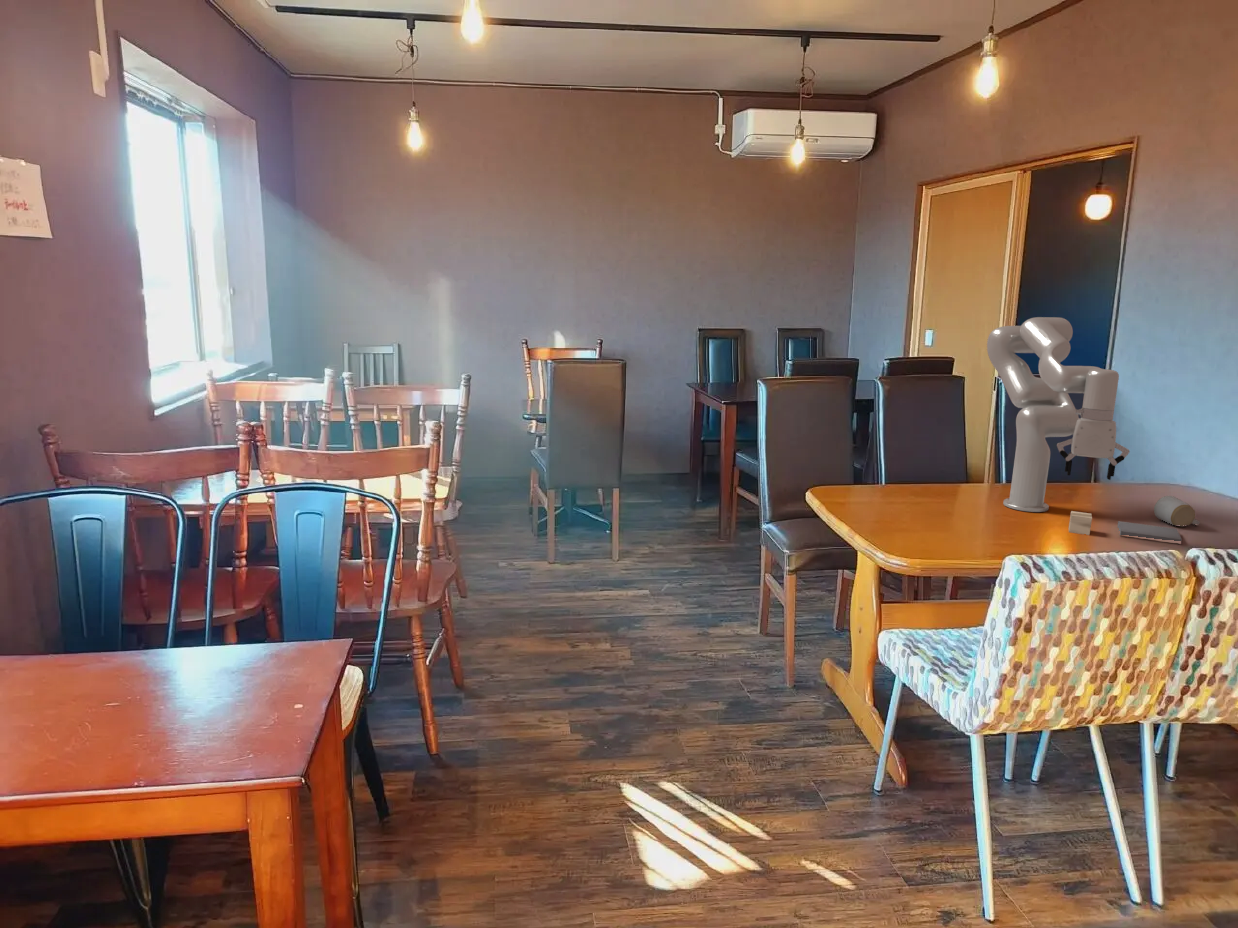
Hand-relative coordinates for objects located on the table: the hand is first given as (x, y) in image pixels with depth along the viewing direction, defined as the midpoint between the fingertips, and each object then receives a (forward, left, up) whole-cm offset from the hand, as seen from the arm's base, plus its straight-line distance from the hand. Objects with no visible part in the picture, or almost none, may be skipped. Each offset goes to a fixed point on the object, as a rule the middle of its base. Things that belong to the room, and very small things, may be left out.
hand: (1088, 476), depth 223 cm
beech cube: (0, 0, -16) cm, 16 cm away
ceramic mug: (-24, +25, -16) cm, 38 cm away
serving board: (-6, +17, -16) cm, 24 cm away
